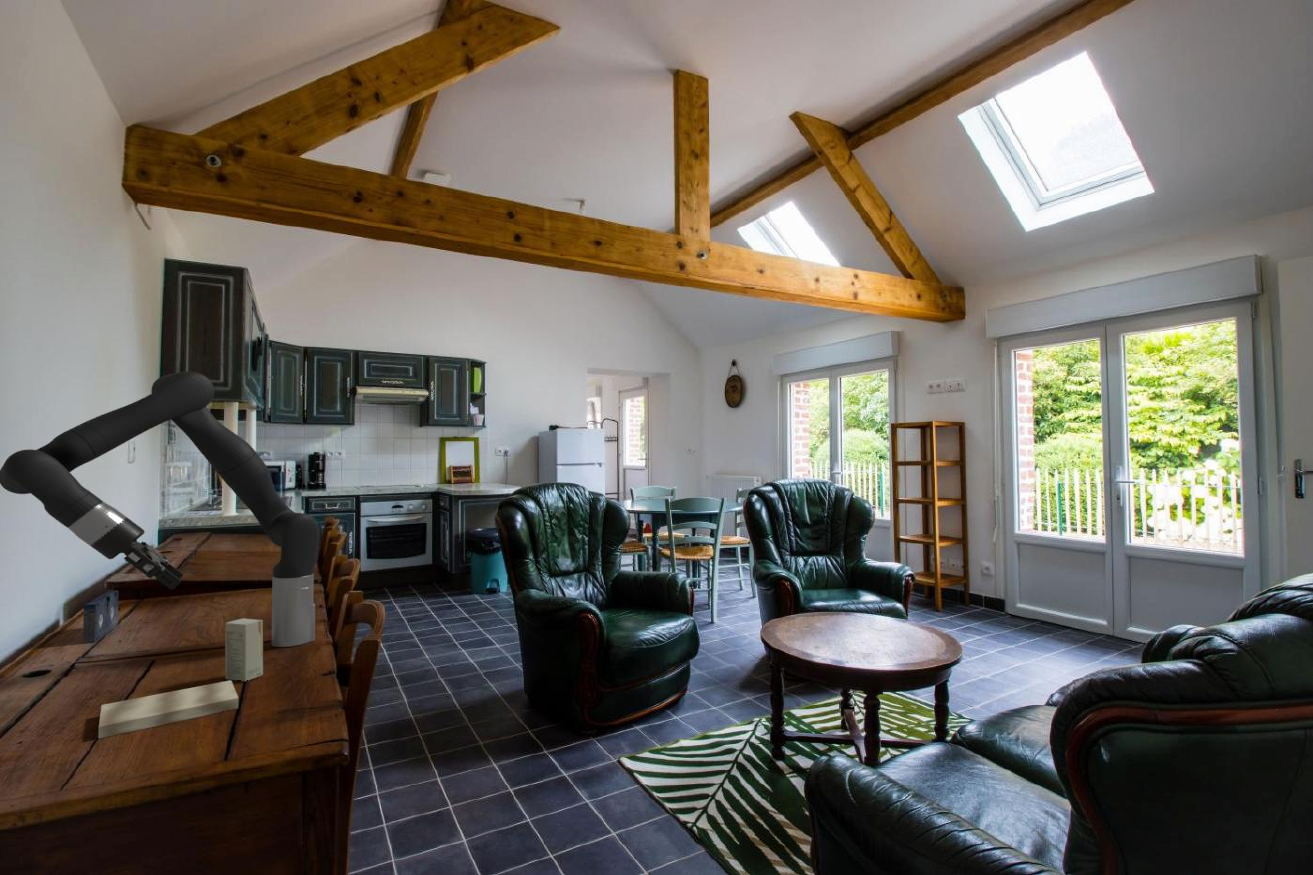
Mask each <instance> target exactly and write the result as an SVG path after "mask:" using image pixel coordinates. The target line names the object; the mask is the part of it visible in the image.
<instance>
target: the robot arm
mask: <svg viewBox="0 0 1313 875" xmlns="http://www.w3.org/2000/svg"><path fill="white" fill-rule="evenodd" d="M150 390H151V393H150V394H148V395H147V396H145V397H142V398H141V399H139V400H136V401H134V402H132V403H129V404H127V405H125V406H122V407H119V408H116V409H114V410H111V411H108V412H106V413H104V414H101V415H98V416H96V417H93V418H91V419H89V420H86V421H85V422H82V423H80V424H78V425H76V426H74V427H72V428H69V429H68V430H65V431H64V432H62V433H60V434H58V435H57V436H55V437H54V438H53V439H52V440H51V441H50V442H48V443H46V444H45V445H43V446H42V447H39V448H37V449H30V448H29V449H22V450H18V451H16V452H14V453H12V454H11V455H9V456H8V457H7V458H6V460H5V462H4V463H3V465H2V466H1V468H0V485H1V487H2V488H3V489H4V490H6V491H7V492H10V493H13V494H17V495H29V494H31V495H32V496H33V497H34V498H36V499H37V500H38V501H40V502H41V503H42V504H43V505H42V506H43V508H44V510H45V511H46V513H47V514H48V515H49V516H51V517H52V518H53V519H55V520H56V521H57V522H58V523H60V524H61V525H63V526H64V527H66V528H67V529H68V530H69V531H71V532H72V533H73V534H74V536H76V537H77V538H78V539H79V540H81V541H83V543H86V544H87V545H88V546H90V547H91V548H92V549H93V550H95V551H97V552H98V553H100V554H101V555H102V556H104V557H105V558H107V560H112V559H115V558H116V557H117V556H119V555H120V554H124V555H125V557H123V560H124V561H125V562H126V563H127V562H128V563H129V564H130V565H132V567H134V568H136V570H138V571H140V572H141V573H142V574H144V575H145V576H146V577H147V578H149V579H155V580H157V581H158V582H160V583H161V584H162V585H164V586H165V587H167V588H168V589H169V590H174V589H175V588H176V587H178V586H179V585H180V584H181V583H182V582H181V581H182V580H181V579H182V577H183V575H184V573H183V572H181V571H180V570H179V569H177V568H176V567H174V566H173V565H172V564H171V563H170V562H169V560H168V558H167V557H166V556H163V555H162V554H161V552H159V551H157V550H156V549H154V548H153V546H151V545H149V544H148V543H147V542H145V541H141V542H139V541H138V539H139V538H141V537H142V536H143V535H144V534H145V530H144V529H143V528H142V527H141V526H139V525H138V524H136V523H135V522H134V521H133V520H131V519H130V518H129V517H127V516H126V515H124V514H123V513H122V512H120V510H118V509H116V507H113V506H112V505H110V504H109V503H107V502H104V501H103V500H102V499H101V498H99V497H98V496H97V495H95V494H94V493H93V492H92V491H90V490H89V489H87V488H85V487H84V486H83V485H81V483H80V482H79V481H78V479H77V478H76V477H75V475H73V474H72V473H71V472H72V471H74V470H76V469H77V468H79V467H81V466H84V465H85V464H88V463H90V462H92V461H93V460H95V459H98V458H99V457H101V456H104V455H105V454H107V453H108V452H111V451H112V450H114V449H116V448H117V447H120V446H121V445H124V444H126V443H128V441H131V440H132V439H134V438H136V437H138V436H140V435H141V434H144V433H145V432H148V431H149V430H151V429H153V428H156V427H157V426H159V425H162V424H164V423H166V422H167V421H172V422H173V423H174V424H175V426H177V427H178V428H179V429H180V430H181V431H182V432H183V433H184V434H185V435H186V436H187V437H188V438H189V439H190V441H191V442H192V443H193V445H194V446H195V447H196V448H197V450H198V451H199V452H200V453H201V454H202V455H203V457H204V458H205V459H206V461H207V462H208V463H209V464H210V465H211V467H212V468H213V469H214V471H215V472H216V473H217V474H218V476H219V477H220V478H221V480H223V481H224V482H225V484H226V485H227V486H228V487H229V488H230V489H231V490H232V492H233V493H234V494H235V495H236V496H237V497H238V499H240V501H241V502H242V503H243V504H244V505H245V506H246V507H247V508H248V509H249V511H250V512H251V513H252V515H253V516H254V517H255V518H256V521H258V523H259V525H260V527H261V528H262V529H263V531H264V533H265V535H266V536H267V537H268V539H269V540H270V541H271V542H272V543H273V544H274V545H276V546H278V547H280V549H281V551H280V559H279V562H278V563H275V564H274V565H273V568H272V590H271V591H272V593H271V594H272V595H271V596H272V600H271V602H272V604H271V608H272V609H271V646H273V647H277V648H278V647H279V648H287V647H295V646H300V645H301V646H302V645H304V644H308V643H311V642H314V641H316V636H315V635H316V603H314V587H315V586H314V585H315V584H314V583H315V582H314V581H315V580H314V579H315V577H314V575H315V574H314V573H315V572H314V570H315V566H316V564H317V562H318V559H319V558H318V555H319V542H320V529H319V525H318V522H317V520H316V519H315V518H314V517H313V516H311V515H310V514H307V513H302V512H301V513H300V512H295V511H293V510H292V509H291V508H290V507H289V506H288V505H287V504H286V503H285V502H284V500H283V499H282V498H281V496H280V495H279V494H278V493H277V491H276V489H275V485H274V482H273V479H272V476H271V472H270V470H269V468H268V467H267V465H266V463H265V461H264V460H263V459H262V457H261V456H260V455H259V454H258V453H257V452H256V450H255V449H254V448H253V447H252V446H251V445H250V444H249V443H248V442H247V441H246V440H245V439H243V438H242V437H240V436H239V435H238V434H236V432H235V433H234V431H232V430H231V429H229V428H228V427H226V426H225V425H223V423H221V422H220V421H219V420H218V419H217V418H215V417H214V415H213V414H212V413H211V411H210V410H209V409H208V408H207V406H209V404H211V402H212V401H213V399H214V396H215V387H214V385H213V382H212V381H211V380H210V379H209V378H208V377H207V376H206V375H204V374H202V373H200V372H196V371H191V370H190V371H188V370H187V371H186V370H185V371H179V372H174V373H170V374H166V375H163V376H161V377H158V378H157V379H156V380H155V381H154V382H153V383H152V385H151V389H150Z"/></svg>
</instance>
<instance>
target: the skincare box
mask: <svg viewBox="0 0 1313 875" xmlns="http://www.w3.org/2000/svg"><path fill="white" fill-rule="evenodd" d="M263 622H264V620H263V619H255V618H245V617H243V618H239V619H234V620H232V621H227V622H225V624H224V626H225V627H224V628H225V630H224V634H225V637H224V638H225V641H224V642H225V645H224V646H225V647H224V648H225V653H224V656H225V657H224V658H225V666H224V667H225V673H224V674H225V676H224V677H225V679H226V680H229V681H230V680H231V681H237V680H241V681H240V682H248V681H250V680H253V679H256V678H258V677H262V676H263V675H264V635H263V630H264V629H263V626H264V625H263V624H264V623H263ZM247 680H248V681H247Z"/></svg>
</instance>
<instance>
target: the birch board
mask: <svg viewBox="0 0 1313 875" xmlns="http://www.w3.org/2000/svg"><path fill="white" fill-rule="evenodd" d="M237 709H239V696H238V693H237V691H236V689H235V686H234V683H233V680H230V679H229V680H226V681H220V682H214V683H209V684H205V685H199V686H195V687H190V688H189V687H188V688H183V689H179V690H173V691H168V692H167V691H166V692H164V693H157V694H153V695H147V696H143V697H136V698H132V699H125V700H122V701H121V700H120V701H115V702H110V703H104V704H101V706H100V715H99V724H98V739H102V738H108V737H113V736H117V735H118V736H119V735H123V734H127V733H130V732H132V733H133V732H134V731H135V732H136V731H140V730H145V729H149V728H153V727H158V726H163V725H167V724H172V723H173V724H174V723H178V722H181V721H187V720H191V719H195V718H200V717H204V716H209V715H214V713H215V714H219V713H224V712H228V711H227V710H229V711H232V710H237ZM223 711H224V712H223Z"/></svg>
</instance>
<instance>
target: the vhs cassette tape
mask: <svg viewBox="0 0 1313 875" xmlns="http://www.w3.org/2000/svg"><path fill="white" fill-rule="evenodd" d="M82 610H83V625H82V626H83V628H82V629H83V634H82V640H83V641H82V642H83V643H85V644H93V643H97V642H98V641H99V640H101V639H102V638H103V637H104V636H106V635H107V634H109V632H111V631H112V630H114V629H116V627H117V626H119V619H118V617H119V590H108V591H107V592H104V593H102V594H101V595H100V596H97V597H96V598H93V599H92V600H90V601H89V602H87V603H85V604H83V609H82Z"/></svg>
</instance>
